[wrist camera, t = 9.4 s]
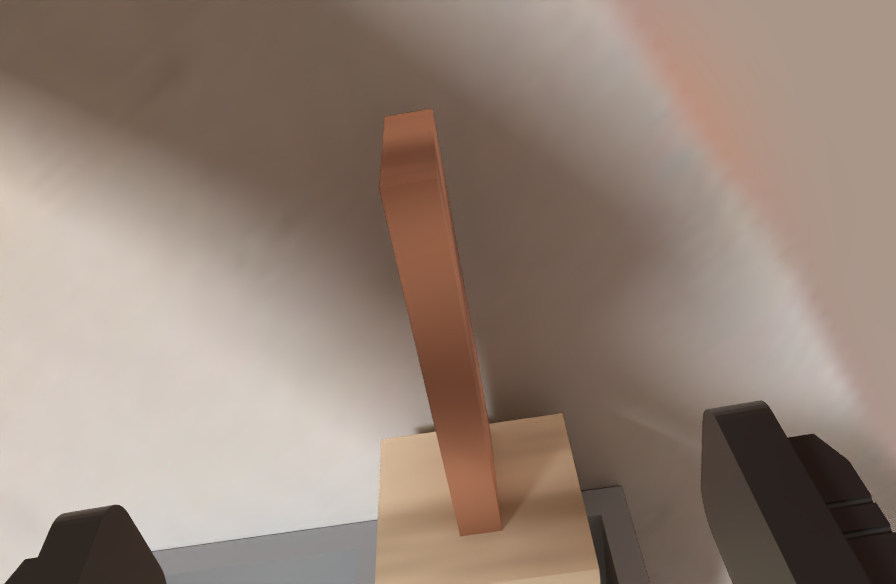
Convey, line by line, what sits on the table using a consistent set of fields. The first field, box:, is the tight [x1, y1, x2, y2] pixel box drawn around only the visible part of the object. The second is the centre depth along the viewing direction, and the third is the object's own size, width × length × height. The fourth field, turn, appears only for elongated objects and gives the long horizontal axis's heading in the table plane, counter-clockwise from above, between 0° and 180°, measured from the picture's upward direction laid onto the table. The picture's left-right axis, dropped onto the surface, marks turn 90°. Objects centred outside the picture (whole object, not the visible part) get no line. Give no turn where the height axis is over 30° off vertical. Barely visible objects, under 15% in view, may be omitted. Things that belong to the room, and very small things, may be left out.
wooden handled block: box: [375, 109, 600, 584], centre depth 23 cm, size 21×6×6 cm, turn 9°
